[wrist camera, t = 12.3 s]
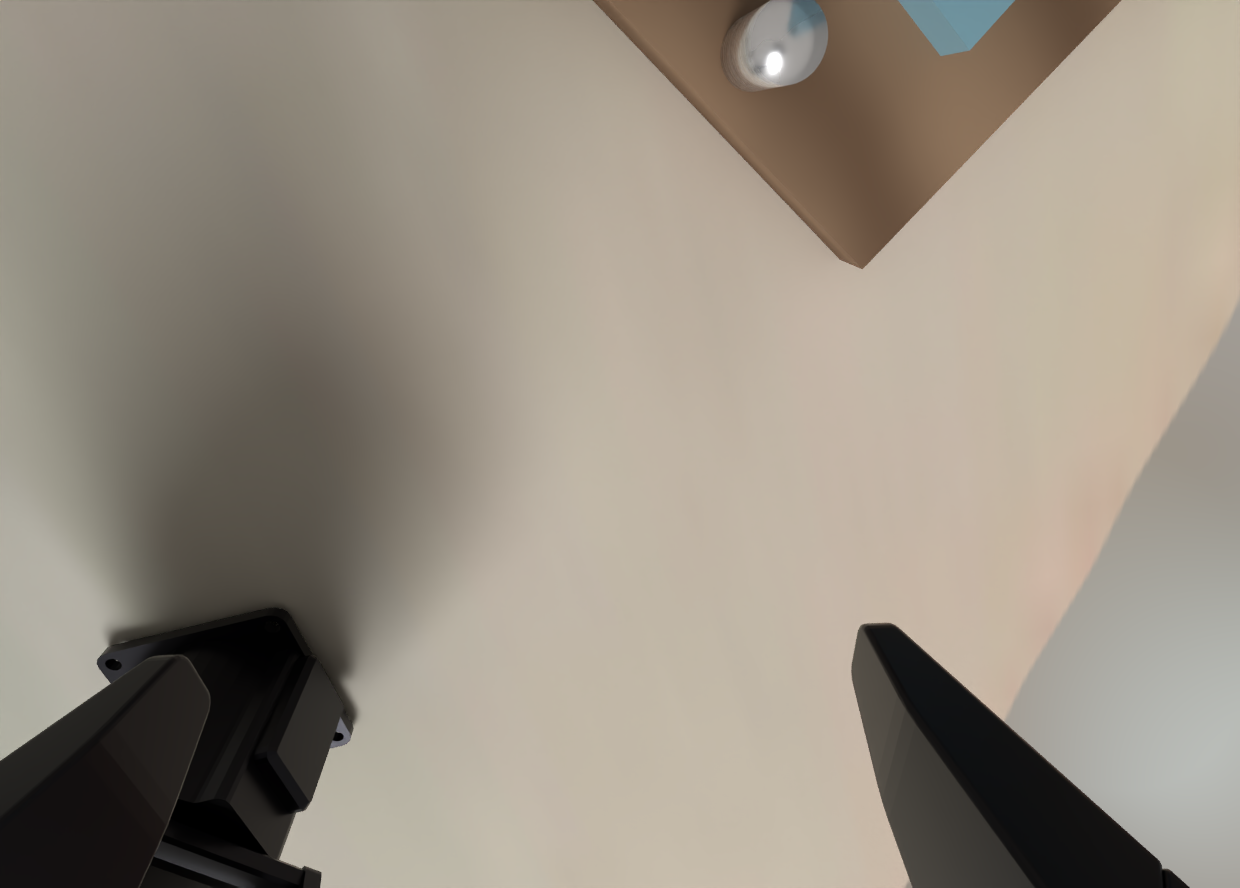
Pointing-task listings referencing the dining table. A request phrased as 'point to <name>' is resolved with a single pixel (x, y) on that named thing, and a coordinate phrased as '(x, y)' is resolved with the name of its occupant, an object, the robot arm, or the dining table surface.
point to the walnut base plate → (860, 102)
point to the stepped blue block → (954, 21)
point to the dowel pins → (775, 45)
